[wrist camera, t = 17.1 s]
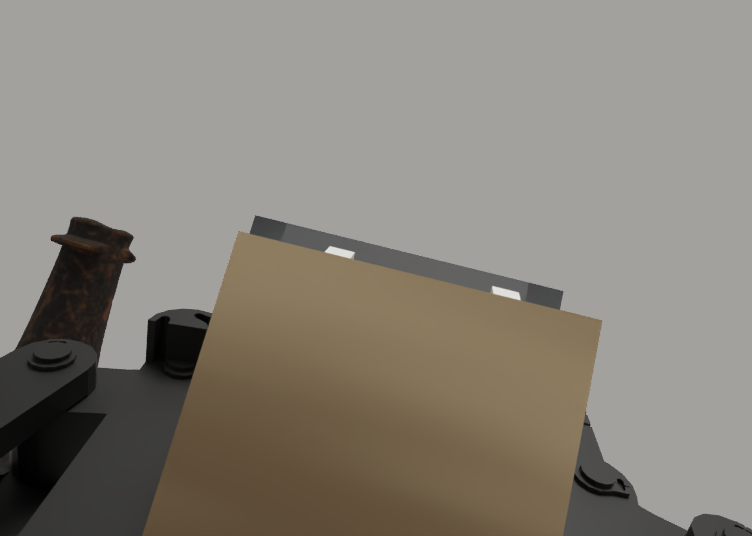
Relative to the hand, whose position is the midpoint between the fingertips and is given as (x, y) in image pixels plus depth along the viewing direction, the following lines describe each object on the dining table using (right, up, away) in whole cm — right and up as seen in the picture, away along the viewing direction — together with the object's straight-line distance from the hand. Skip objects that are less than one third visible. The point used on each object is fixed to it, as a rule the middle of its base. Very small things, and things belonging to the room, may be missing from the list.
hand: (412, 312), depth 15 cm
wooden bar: (-1, -5, +4) cm, 7 cm away
